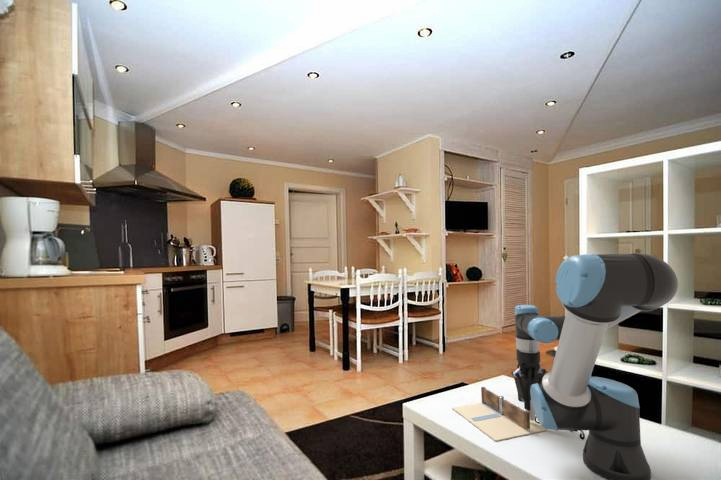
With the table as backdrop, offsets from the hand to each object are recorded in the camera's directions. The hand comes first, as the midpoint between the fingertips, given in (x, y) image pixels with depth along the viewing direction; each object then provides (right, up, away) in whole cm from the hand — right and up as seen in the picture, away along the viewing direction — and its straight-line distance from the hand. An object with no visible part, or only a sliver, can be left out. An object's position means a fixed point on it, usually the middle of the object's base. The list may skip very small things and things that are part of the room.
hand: (530, 418), depth 121 cm
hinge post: (-7, -3, +7) cm, 10 cm away
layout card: (-10, -2, +5) cm, 11 cm away
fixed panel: (-9, -3, +13) cm, 16 cm away
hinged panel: (-5, -1, 0) cm, 5 cm away
